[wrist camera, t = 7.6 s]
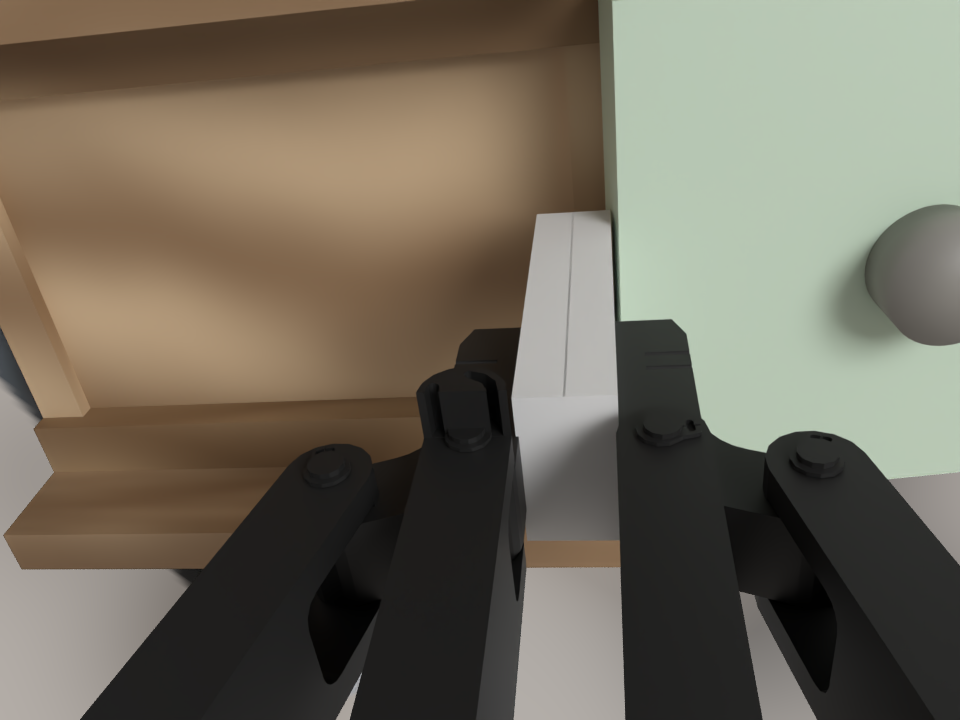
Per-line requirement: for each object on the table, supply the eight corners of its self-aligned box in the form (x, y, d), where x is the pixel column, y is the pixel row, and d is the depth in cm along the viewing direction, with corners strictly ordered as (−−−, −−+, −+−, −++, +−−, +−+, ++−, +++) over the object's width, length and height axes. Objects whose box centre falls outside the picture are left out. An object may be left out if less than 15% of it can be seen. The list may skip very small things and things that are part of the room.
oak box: (-131, -34, 19) (-287, 2, 16) (619, -128, 16) (625, -109, 13) (95, 471, 26) (21, 569, 23) (636, 458, 24) (643, 567, 20)
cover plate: (597, -16, 16) (624, 14, 13) (1271, -98, 16) (1431, -82, 13) (614, 456, 22) (635, 541, 19) (1107, 407, 21) (1194, 487, 19)
